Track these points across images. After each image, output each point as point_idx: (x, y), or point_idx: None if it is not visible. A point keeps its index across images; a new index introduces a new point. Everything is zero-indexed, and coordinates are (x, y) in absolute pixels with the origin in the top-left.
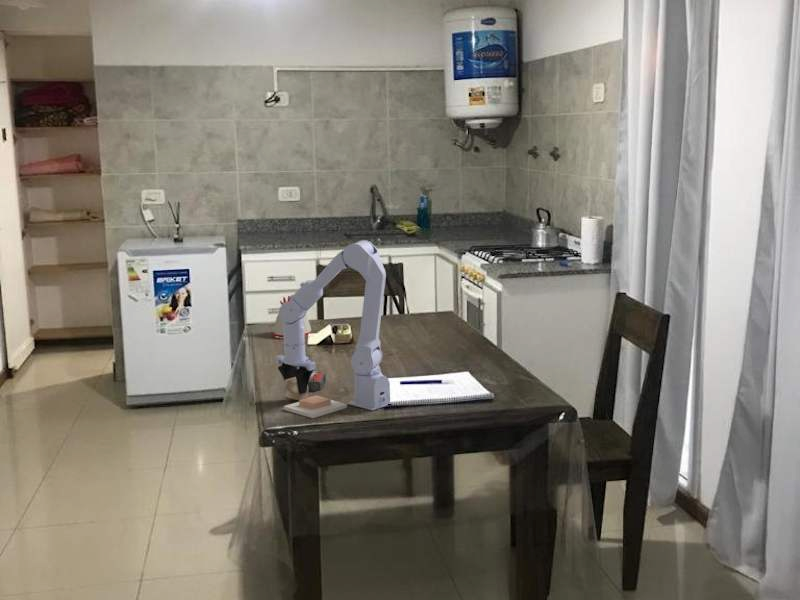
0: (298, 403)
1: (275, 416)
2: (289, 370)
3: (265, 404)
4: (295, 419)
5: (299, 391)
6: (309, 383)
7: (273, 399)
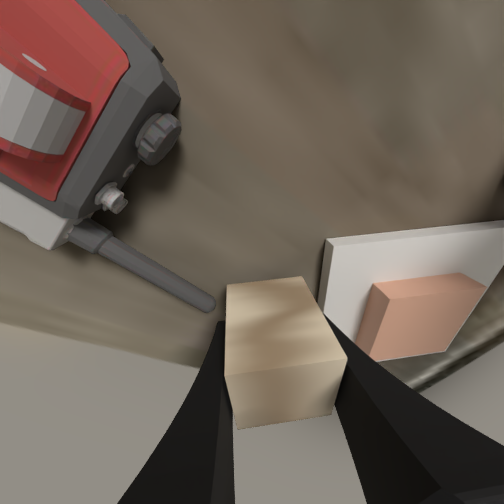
0: None
1: None
2: (229, 498)
3: None
4: (394, 367)
5: None
6: (113, 161)
7: (182, 340)
